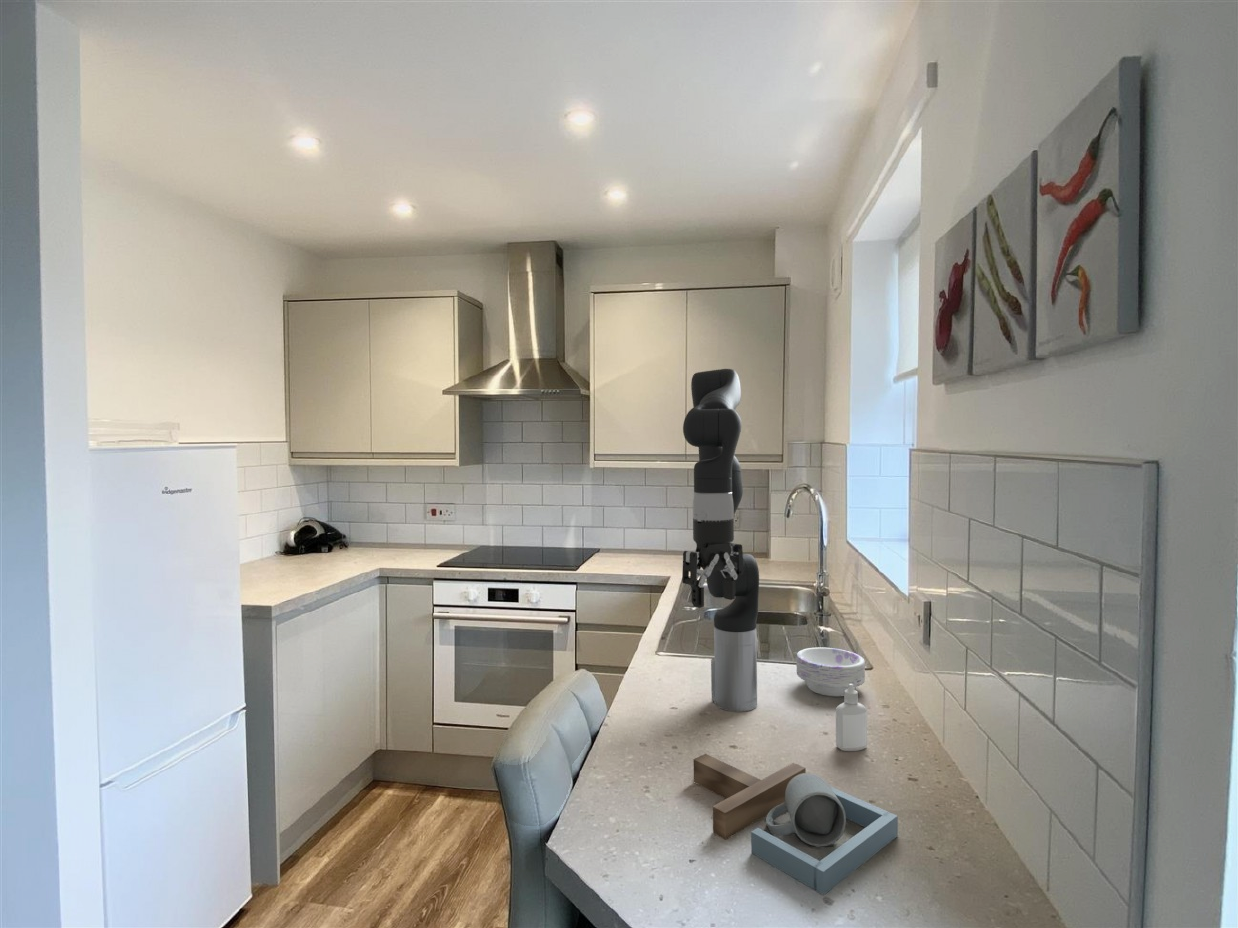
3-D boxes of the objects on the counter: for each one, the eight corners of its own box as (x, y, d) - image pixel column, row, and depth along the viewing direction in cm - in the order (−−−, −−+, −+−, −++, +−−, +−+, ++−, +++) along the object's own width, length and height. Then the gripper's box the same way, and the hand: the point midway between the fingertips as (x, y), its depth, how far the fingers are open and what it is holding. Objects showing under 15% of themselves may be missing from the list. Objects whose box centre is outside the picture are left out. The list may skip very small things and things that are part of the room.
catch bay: (751, 852, 92) (751, 831, 92) (827, 803, 104) (827, 785, 104) (823, 894, 83) (823, 871, 83) (897, 835, 95) (897, 815, 95)
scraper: (657, 800, 106) (657, 775, 106) (737, 760, 119) (737, 738, 119) (725, 840, 95) (725, 812, 95) (805, 791, 108) (805, 767, 108)
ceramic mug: (830, 814, 101) (829, 765, 101) (847, 847, 93) (846, 793, 92) (761, 815, 101) (760, 766, 101) (772, 848, 93) (770, 795, 93)
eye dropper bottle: (868, 754, 120) (867, 689, 120) (836, 750, 122) (835, 687, 121) (866, 743, 124) (865, 681, 124) (835, 740, 126) (834, 678, 126)
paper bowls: (872, 685, 154) (871, 652, 154) (855, 707, 142) (855, 670, 142) (808, 673, 163) (807, 642, 163) (787, 693, 150) (787, 659, 150)
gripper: (723, 511, 129) (724, 593, 129) (671, 518, 120) (672, 605, 120) (753, 514, 123) (754, 600, 124) (701, 521, 114) (702, 613, 114)
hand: (714, 602), depth 122 cm, fingers open, 8 cm apart
